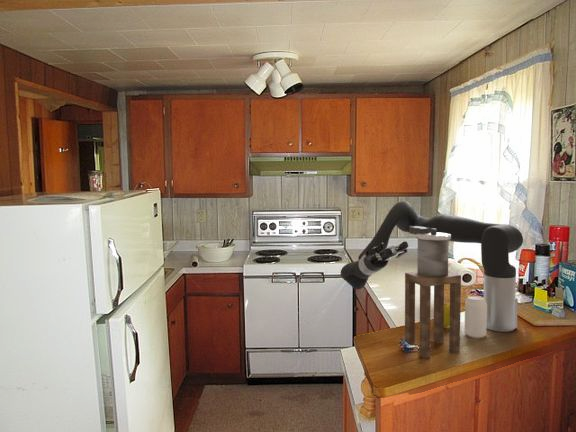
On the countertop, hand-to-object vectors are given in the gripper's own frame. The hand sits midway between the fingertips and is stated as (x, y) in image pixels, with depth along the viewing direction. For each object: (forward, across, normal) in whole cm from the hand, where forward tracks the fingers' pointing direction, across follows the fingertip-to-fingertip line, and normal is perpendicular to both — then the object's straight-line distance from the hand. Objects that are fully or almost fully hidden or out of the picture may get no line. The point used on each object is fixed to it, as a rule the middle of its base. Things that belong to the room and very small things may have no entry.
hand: (395, 244), depth 144 cm
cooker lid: (+17, 0, +4) cm, 17 cm away
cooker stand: (+3, 0, +33) cm, 34 cm away
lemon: (-8, +15, +27) cm, 32 cm away
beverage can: (0, +19, +32) cm, 37 cm away
